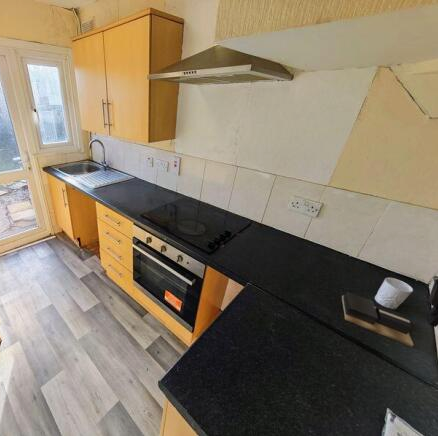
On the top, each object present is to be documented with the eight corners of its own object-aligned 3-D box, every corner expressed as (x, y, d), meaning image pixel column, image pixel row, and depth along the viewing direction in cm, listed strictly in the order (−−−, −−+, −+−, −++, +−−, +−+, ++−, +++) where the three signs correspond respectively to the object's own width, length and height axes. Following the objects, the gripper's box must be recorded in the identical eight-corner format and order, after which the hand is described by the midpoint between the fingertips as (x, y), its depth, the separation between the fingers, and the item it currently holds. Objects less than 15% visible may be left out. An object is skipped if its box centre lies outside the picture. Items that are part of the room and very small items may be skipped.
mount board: (400, 318, 86) (406, 309, 84) (412, 346, 75) (420, 338, 73) (341, 296, 95) (346, 288, 93) (345, 319, 84) (350, 311, 82)
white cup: (402, 307, 91) (417, 289, 86) (392, 312, 88) (406, 294, 84) (379, 293, 97) (391, 275, 93) (368, 298, 95) (380, 280, 90)
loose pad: (401, 322, 83) (407, 315, 81) (406, 334, 78) (412, 327, 77) (373, 312, 87) (377, 305, 85) (376, 322, 82) (381, 316, 81)
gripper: (509, 270, 65) (453, 325, 76) (444, 253, 71) (401, 306, 82) (528, 285, 59) (465, 342, 70) (455, 265, 65) (407, 321, 76)
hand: (430, 323), depth 76 cm, fingers closed
